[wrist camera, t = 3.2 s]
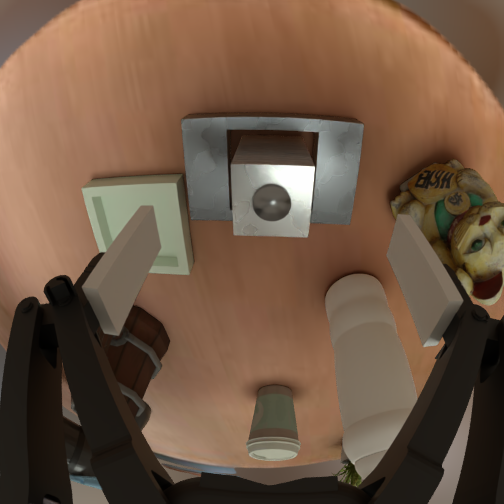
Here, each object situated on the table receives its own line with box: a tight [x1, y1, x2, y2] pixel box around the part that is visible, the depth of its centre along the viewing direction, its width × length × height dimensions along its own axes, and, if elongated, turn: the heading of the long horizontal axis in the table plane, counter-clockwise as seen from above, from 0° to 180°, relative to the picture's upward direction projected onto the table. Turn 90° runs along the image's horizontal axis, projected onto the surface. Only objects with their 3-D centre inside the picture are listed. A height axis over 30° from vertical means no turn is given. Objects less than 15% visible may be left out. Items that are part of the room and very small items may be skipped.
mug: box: [71, 306, 170, 418], centre depth 33 cm, size 16×12×15 cm
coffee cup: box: [246, 385, 301, 461], centre depth 43 cm, size 8×9×12 cm
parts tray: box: [82, 174, 194, 275], centre depth 28 cm, size 10×10×2 cm
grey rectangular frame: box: [181, 112, 364, 225], centre depth 24 cm, size 14×9×2 cm, turn 90°
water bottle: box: [325, 274, 417, 480], centre depth 23 cm, size 7×7×25 cm
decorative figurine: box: [390, 159, 504, 305], centre depth 19 cm, size 10×8×15 cm
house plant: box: [335, 444, 362, 488], centre depth 57 cm, size 14×14×16 cm
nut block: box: [231, 135, 315, 237], centre depth 22 cm, size 5×5×8 cm
